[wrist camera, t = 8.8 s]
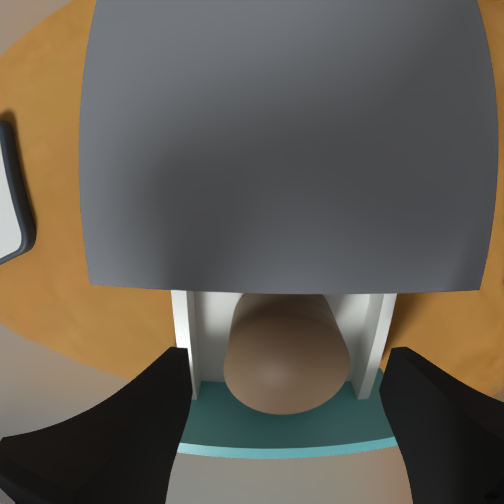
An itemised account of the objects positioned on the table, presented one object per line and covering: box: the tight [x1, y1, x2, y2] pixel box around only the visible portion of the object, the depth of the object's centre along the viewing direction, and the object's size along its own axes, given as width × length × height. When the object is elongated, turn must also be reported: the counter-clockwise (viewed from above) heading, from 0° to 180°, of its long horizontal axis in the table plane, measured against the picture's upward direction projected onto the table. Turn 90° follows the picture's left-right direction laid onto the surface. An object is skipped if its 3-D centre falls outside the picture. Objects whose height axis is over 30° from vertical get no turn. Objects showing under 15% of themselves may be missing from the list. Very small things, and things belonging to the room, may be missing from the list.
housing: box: [79, 0, 498, 294], centre depth 9 cm, size 12×12×6 cm
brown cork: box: [223, 293, 350, 415], centre depth 12 cm, size 4×4×4 cm
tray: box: [171, 290, 398, 459], centre depth 11 cm, size 12×12×5 cm
